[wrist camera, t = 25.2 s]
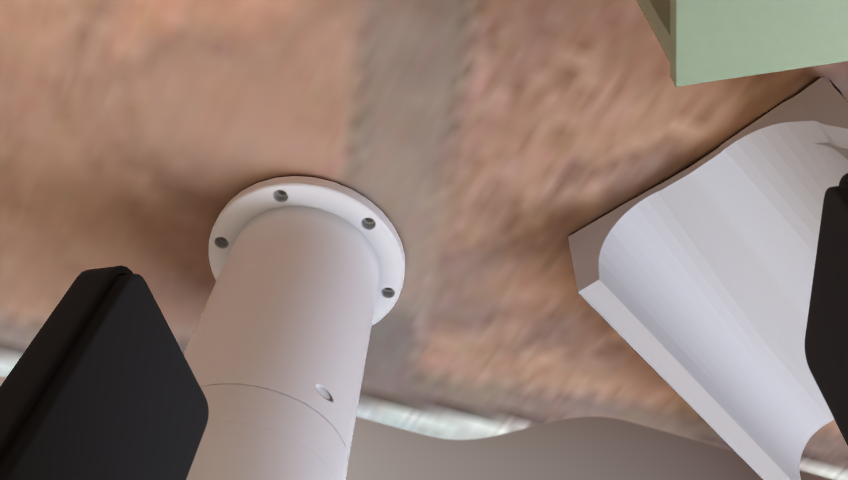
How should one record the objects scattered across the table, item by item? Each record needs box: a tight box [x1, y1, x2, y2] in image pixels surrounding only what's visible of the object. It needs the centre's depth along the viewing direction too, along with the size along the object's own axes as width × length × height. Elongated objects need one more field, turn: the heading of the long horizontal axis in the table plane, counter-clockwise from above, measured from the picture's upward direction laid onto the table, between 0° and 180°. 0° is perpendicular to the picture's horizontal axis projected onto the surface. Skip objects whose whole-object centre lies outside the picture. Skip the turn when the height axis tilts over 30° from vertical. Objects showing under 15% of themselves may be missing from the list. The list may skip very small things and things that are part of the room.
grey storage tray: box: [568, 77, 848, 480], centre depth 44 cm, size 25×21×8 cm
